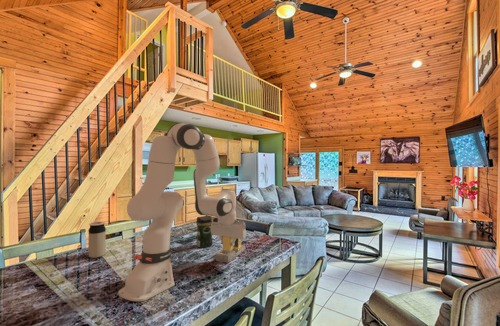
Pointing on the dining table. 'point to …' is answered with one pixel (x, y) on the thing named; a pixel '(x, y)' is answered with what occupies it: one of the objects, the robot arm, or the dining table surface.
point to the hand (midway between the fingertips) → (228, 244)
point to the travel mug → (97, 239)
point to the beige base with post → (230, 252)
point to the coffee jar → (204, 231)
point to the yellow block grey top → (227, 243)
